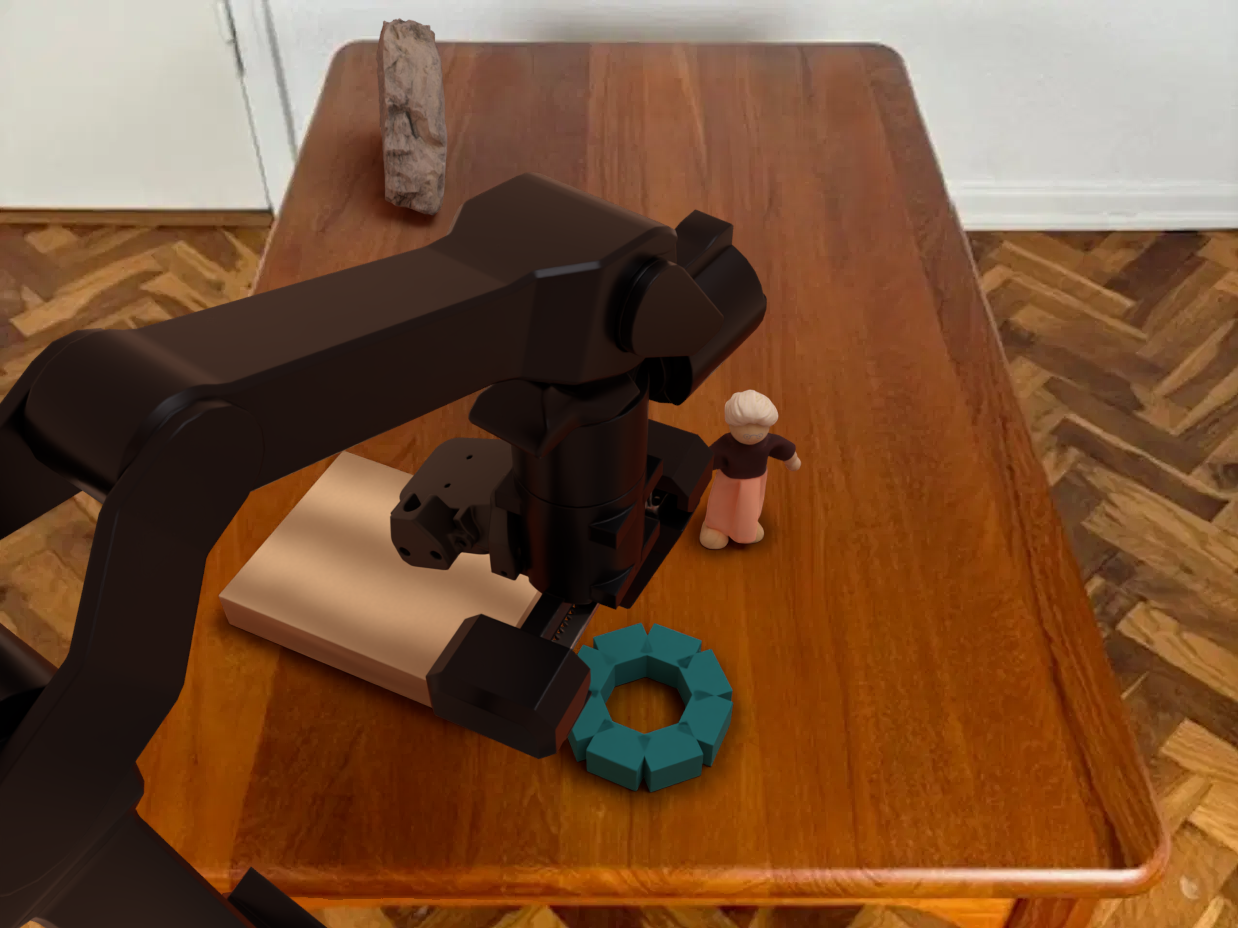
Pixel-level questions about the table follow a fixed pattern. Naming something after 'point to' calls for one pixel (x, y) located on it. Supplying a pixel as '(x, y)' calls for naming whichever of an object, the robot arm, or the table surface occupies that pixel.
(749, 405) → the grandmother figurine
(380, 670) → the board
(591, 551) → the robot arm
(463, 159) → the table surface
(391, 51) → the decorative rock
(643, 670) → the ring
